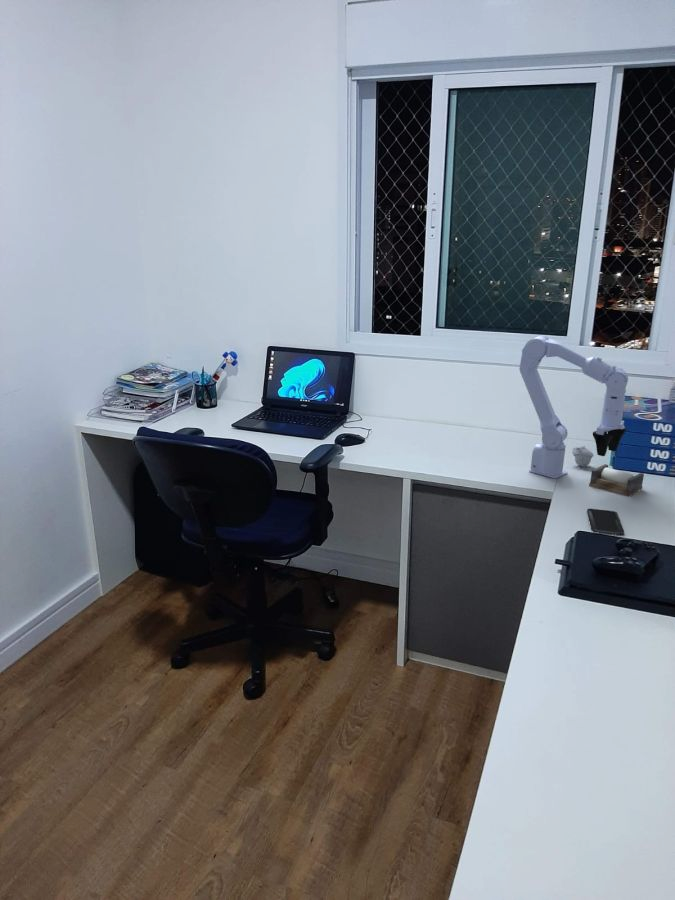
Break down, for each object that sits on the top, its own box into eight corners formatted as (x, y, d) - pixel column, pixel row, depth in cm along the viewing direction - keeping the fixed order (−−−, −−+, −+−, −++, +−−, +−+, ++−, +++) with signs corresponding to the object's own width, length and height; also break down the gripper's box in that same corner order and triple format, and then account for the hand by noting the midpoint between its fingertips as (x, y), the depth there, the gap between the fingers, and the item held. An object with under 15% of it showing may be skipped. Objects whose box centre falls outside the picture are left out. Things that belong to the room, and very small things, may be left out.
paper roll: (599, 482, 203) (602, 468, 202) (606, 479, 206) (608, 466, 205) (626, 489, 198) (628, 475, 196) (632, 486, 201) (634, 472, 199)
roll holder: (589, 485, 204) (591, 470, 202) (602, 479, 210) (604, 464, 208) (629, 496, 195) (632, 480, 194) (642, 489, 201) (644, 473, 200)
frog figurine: (572, 461, 226) (574, 442, 224) (593, 465, 223) (596, 445, 221) (568, 466, 221) (570, 446, 219) (590, 470, 218) (593, 449, 216)
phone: (592, 529, 170) (586, 508, 184) (591, 533, 170) (586, 511, 184) (625, 533, 168) (617, 511, 182) (624, 537, 168) (616, 515, 182)
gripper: (615, 416, 193) (608, 460, 197) (636, 408, 202) (629, 451, 206) (592, 411, 198) (586, 455, 202) (613, 404, 207) (607, 446, 211)
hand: (606, 453), depth 204 cm, fingers open, 7 cm apart
